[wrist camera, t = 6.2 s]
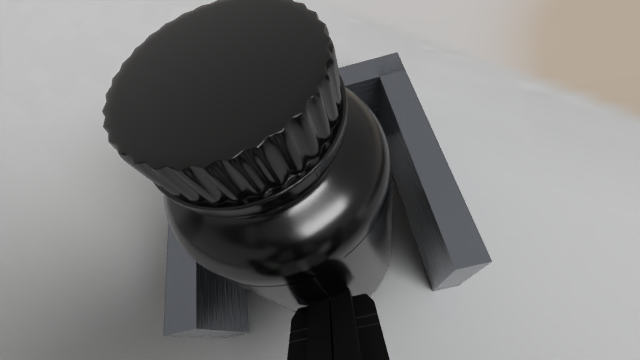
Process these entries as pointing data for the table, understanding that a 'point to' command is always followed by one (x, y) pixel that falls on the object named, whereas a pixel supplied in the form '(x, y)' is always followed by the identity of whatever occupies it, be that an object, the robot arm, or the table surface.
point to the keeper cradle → (415, 192)
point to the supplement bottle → (259, 150)
